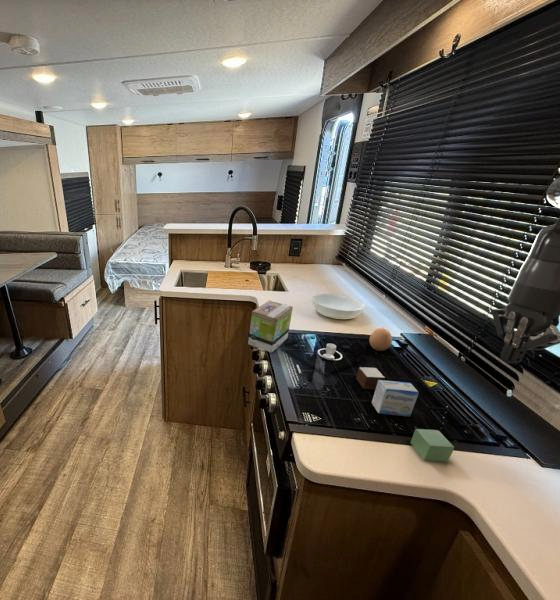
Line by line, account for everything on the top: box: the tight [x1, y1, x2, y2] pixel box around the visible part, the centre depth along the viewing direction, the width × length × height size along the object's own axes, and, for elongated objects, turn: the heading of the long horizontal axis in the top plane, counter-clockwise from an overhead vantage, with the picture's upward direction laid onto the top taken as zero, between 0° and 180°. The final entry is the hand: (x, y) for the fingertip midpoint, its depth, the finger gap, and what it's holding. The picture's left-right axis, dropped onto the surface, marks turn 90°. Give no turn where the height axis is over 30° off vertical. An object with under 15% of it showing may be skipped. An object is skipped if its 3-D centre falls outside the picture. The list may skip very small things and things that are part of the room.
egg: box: [368, 327, 393, 352], centre depth 112 cm, size 7×7×9 cm
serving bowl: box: [311, 293, 365, 320], centre depth 142 cm, size 21×21×7 cm
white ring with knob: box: [317, 342, 343, 361], centre depth 110 cm, size 9×8×4 cm
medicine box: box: [371, 379, 420, 418], centre depth 84 cm, size 8×4×9 cm, turn 79°
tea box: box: [247, 300, 294, 354], centre depth 118 cm, size 15×10×15 cm
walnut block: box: [355, 366, 386, 390], centre depth 94 cm, size 5×5×5 cm
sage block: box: [409, 428, 455, 463], centre depth 71 cm, size 5×5×5 cm
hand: (508, 361), depth 64 cm, fingers closed
